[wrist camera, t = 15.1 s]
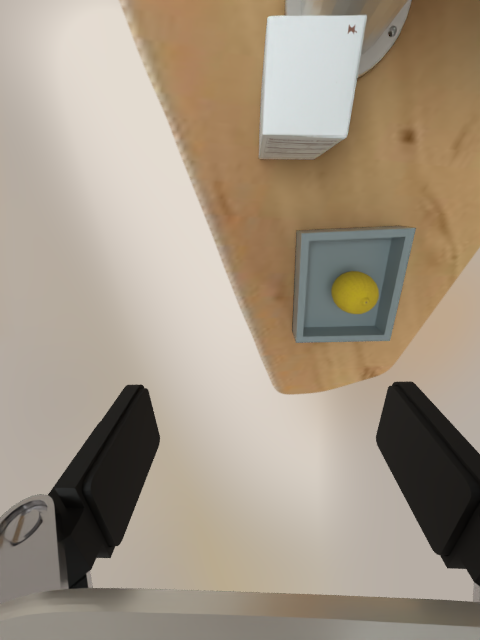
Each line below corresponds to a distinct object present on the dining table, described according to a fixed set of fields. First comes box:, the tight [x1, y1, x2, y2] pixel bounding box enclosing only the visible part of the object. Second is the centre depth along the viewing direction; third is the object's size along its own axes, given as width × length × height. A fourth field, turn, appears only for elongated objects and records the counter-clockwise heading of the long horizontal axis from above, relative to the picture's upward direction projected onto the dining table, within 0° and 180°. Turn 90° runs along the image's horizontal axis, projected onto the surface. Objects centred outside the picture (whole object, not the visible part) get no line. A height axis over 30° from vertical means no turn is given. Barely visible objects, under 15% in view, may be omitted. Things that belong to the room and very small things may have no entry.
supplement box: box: [259, 15, 367, 160], centre depth 25 cm, size 7×7×13 cm
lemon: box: [331, 271, 379, 314], centre depth 34 cm, size 6×6×8 cm
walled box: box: [292, 226, 416, 343], centre depth 37 cm, size 16×14×4 cm
